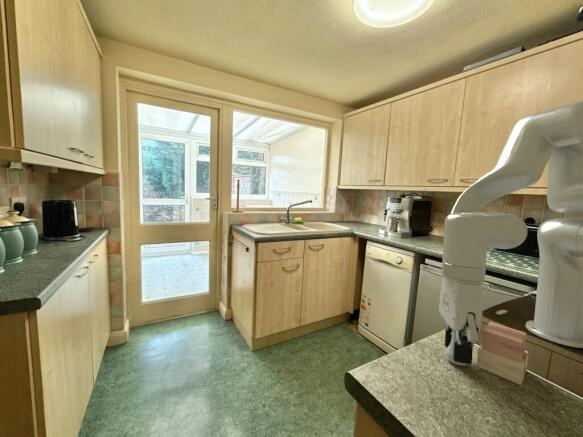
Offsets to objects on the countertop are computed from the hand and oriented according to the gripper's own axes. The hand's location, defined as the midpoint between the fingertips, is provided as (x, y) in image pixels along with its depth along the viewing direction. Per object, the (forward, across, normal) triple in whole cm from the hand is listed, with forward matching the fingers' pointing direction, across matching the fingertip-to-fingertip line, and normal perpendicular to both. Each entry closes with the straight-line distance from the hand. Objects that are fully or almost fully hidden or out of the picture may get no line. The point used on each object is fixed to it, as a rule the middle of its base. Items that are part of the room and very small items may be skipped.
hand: (457, 353), depth 53 cm
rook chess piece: (+2, 0, 0) cm, 2 cm away
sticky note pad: (+2, -1, +8) cm, 9 cm away
